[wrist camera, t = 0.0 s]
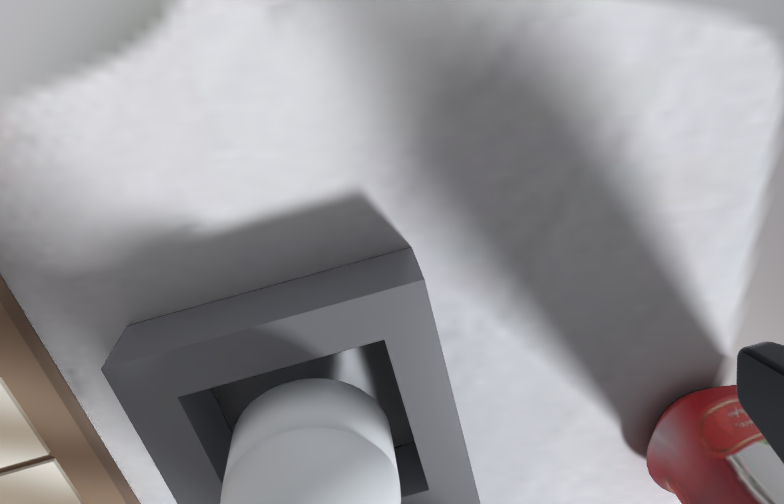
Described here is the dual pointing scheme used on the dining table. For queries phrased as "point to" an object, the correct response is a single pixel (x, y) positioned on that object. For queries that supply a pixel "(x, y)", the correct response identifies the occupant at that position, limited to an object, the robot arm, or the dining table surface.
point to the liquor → (714, 452)
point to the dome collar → (285, 348)
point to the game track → (46, 427)
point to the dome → (312, 448)
